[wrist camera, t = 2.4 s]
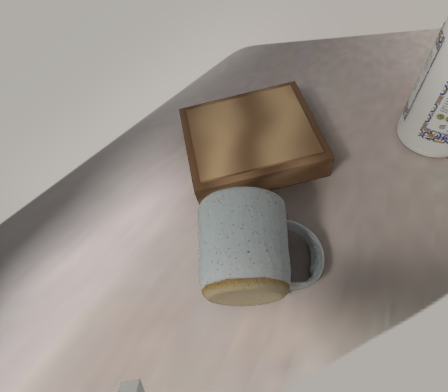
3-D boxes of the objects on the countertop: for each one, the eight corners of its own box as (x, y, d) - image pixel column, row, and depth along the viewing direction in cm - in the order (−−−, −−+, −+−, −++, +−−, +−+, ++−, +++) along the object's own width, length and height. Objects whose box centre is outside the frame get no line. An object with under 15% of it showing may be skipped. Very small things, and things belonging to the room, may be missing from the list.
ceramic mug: (206, 313, 27) (188, 288, 21) (206, 228, 32) (191, 186, 25) (330, 305, 27) (352, 277, 20) (312, 219, 31) (325, 173, 24)
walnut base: (200, 207, 33) (193, 190, 30) (185, 127, 40) (178, 107, 37) (329, 175, 33) (335, 155, 30) (293, 101, 40) (294, 79, 37)
